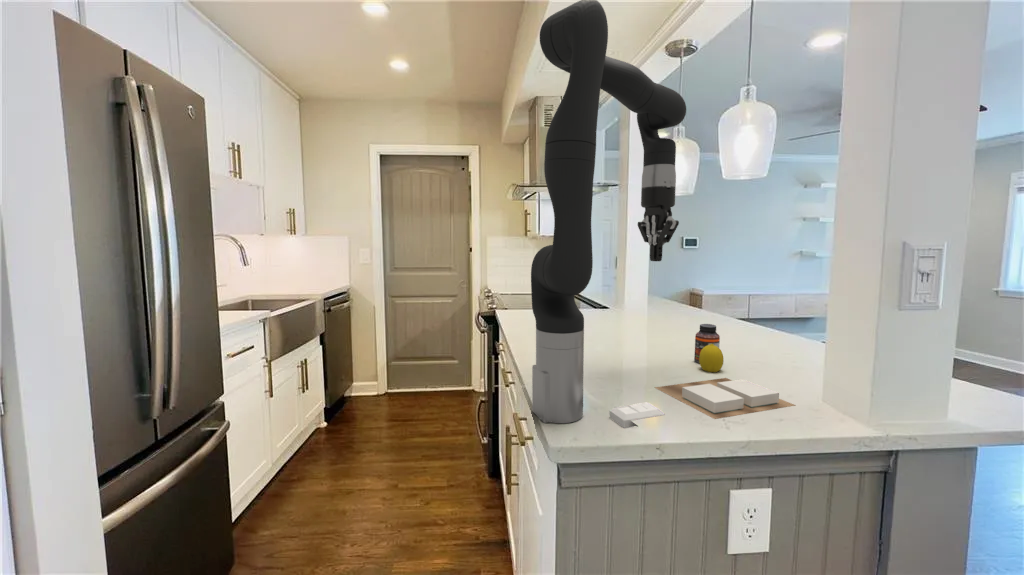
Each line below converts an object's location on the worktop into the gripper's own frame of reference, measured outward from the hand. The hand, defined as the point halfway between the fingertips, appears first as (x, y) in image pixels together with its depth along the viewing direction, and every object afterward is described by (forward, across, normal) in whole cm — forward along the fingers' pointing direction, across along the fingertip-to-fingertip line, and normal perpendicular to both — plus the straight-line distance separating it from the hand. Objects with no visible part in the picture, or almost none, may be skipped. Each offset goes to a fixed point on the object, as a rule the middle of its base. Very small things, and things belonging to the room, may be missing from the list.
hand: (655, 261), depth 104 cm
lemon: (+29, +2, +16) cm, 33 cm away
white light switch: (+30, +19, -17) cm, 39 cm away
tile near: (+26, +15, 0) cm, 30 cm away
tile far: (+26, +15, +9) cm, 32 cm away
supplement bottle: (+29, -4, +20) cm, 36 cm away
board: (+29, +17, +5) cm, 34 cm away
